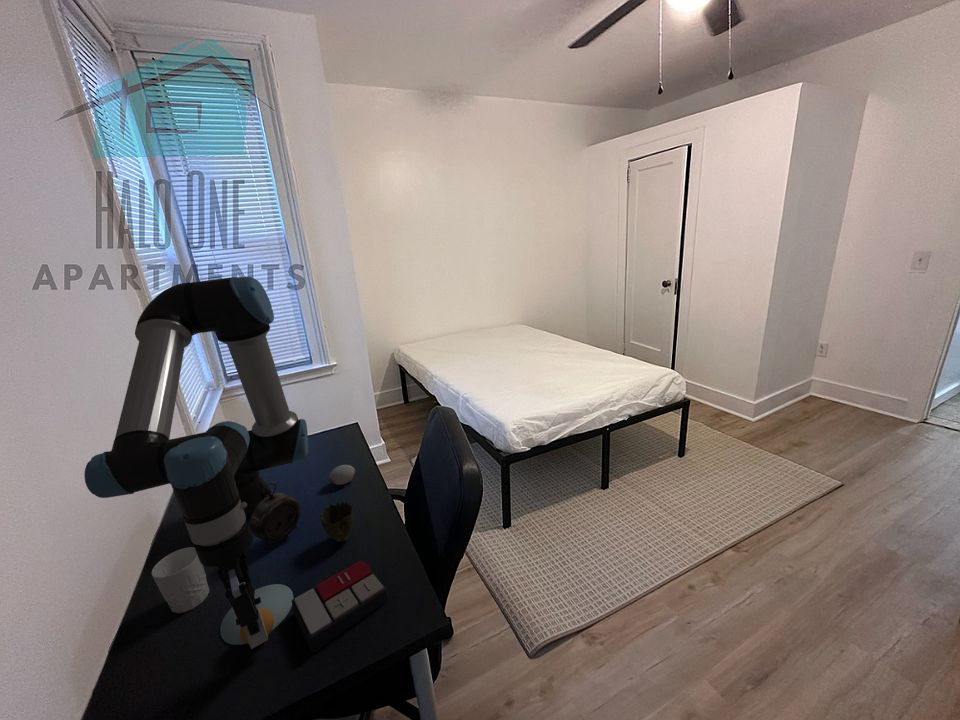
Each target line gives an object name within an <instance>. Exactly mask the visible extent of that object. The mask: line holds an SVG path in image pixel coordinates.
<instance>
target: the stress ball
mask: <svg viewBox="0 0 960 720" xmlns="http://www.w3.org/2000/svg"><path fill="white" fill-rule="evenodd" d="M355 475H356V469H355V468H354V467H353V466H352V465H350V464H342V465H339V466H336V467H334V468H333V469H332V470H331V471H330V473H329V476H328V478H329V481H330V482H331V483H332V484H334V485H338V486H341V485H344V488H347V487H348V486H347V485H346V484H348V483H349V482H351V481H352V480H353V479H354V477H355Z"/></svg>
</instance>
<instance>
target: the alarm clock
mask: <svg viewBox="0 0 960 720" xmlns="http://www.w3.org/2000/svg"><path fill="white" fill-rule="evenodd" d="M269 484H272V485H273V486H274V489H273V490H272V492H271V493H269V495H265V494H264V489H265V487H266V486H267V485H269ZM276 489H277V485H276V483H275V482H273V481H269V482H267V484H266V485H265V486H264V488H263V495H264V496H267V497H265V498H264V499H263V500H262V501H261V502H260V503H259V504H258V505H257V506H256V508H255V509H254V511H253V513H252V516H251V517H250V518H249V519H250V520H249V527H250V530H251V533H252V535H254V536H255V537H256V538H258V539H261V540H262V541H263V542H264V546H263V547H262V550H264V551H265V550H266V548H267V546H268V544H269V543H275V542H279V541H281V540H283V539H284V540H285V541H286V542H287V543H289V542H290V538H289V534H291V533H292V532H293V531H294V529H295V528H297V527H298V526H297V524H298V522H299V520H300V517H301V505H300V502H299V501H298V499H296V498H295V497H294V496H292V495H289V494H287V493H284V492H275V491H276Z"/></svg>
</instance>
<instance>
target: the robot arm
mask: <svg viewBox="0 0 960 720" xmlns="http://www.w3.org/2000/svg"><path fill="white" fill-rule="evenodd" d="M274 313H275V312H274V310H273V307H272V303H271V301H270V298H269V296H268V294H267V292H266V290H265V288H264V287H263V285H262V283H260V281H259V280H258V279H256V278H255V277H253V276H232V277H224V278H217V279H208V280H200V281H192V282H182V283H178V284H175V285H173V286H170V287H168V288H166V289H164V290H163V291H162V292H161V293H159V294H157V296H155V298H153V299H152V300H151V301H150V302H149V303H148V304H147V306H146V307H145V308H144V310H143V311H142V313H141V314H140V316H139V318H138V321H137V322H136V326H135V329H134V337H135V338H136V340H137V341H138V345H137V347H136V352H135V357H134V360H133V365H132V369H131V373H130V377H129V381H128V385H127V389H126V393H125V397H124V401H123V405H122V409H121V413H120V417H119V421H118V424H117V428H116V433H115V437H114V440H113V442H112V443H113V444H112V447H111V450H110V451H108V450H106V451H104V452H102V453H99V454H96V455H94V456H92V457H91V458H90V460H89V461H88V462H87V463H86V466H85V468H84V473H83V475H84V482H85V486H86V488H87V489H88V491H89V492H90V493H91V494H92V495H94V496H96V497H97V498H100V499H107V498H114V497H119V496H126V495H133V494H134V493H137V492H142V491H146V490H149V489H153V488H154V489H155V488H158V487H162V486H165V485H171V488H172V491H173V493H174V495H175V498H176V501H177V503H178V506H179V509H180V510H181V512H182V516H183V521H184V524H185V526H186V529H187V531H188V536H189V538H190V540H191V543H192V544H194V547H193V548H195V550H196V552H197V555H198V558H199V560H200V563H201V564H202V565H203V567H207V568H217V567H218V570H217V575H218V578H219V581H220V582H222V584H223V586H224V589H225V598H227V600H228V601H229V603H230V605H231V608H232V607H233V610H234V612H235V614H236V616H237V619H236V625H239V624H240V626H241V628H242V627H243V628H244V630H245V633H246V636H247V639H248V642H249V647H250V650H252V649H254V648H257V647H258V646H260V645H261V644H263V643H265V642H267V641H268V640H269V637H268V636H269V635H267V632H266V629H265V626H264V623H263V620H262V617H261V614H260V611H259V608H258V606H257V607H256V605H257V604H259V603H261V599H260V597H258V598H256V599H255V597H254V595H255V591H254V590H255V589H254V588H253V585H252V581H251V578H250V571H249V565H248V561H247V553H246V552H247V551H248V550H249V548H250V547H251V545H252V544H253V539H254V538H253V533H252V531H251V529H250V523H249V522H248V521H249V520H247V519H251V516H252V513H253V511H254V509H255V508H256V506H257V505H258V504H259V503H260V502H261V501H262V500H263V499H264V498H265V497H267V496H264V495H263V488H264V486H265V485H266V484H267V483H268V482H267V481H266V480H265V478H263V476H262V475H261V474H260V471H264V470H267V469H268V470H269V469H272V468H276V467H279V466H284V465H288V464H294V463H297V462H300V461H303V460H305V459H306V458H307V456H308V454H309V453H308V452H309V436H308V435H309V434H308V426H307V421H306V419H304V418H299V417H298V415H297V413H296V412H295V411H293V410H292V411H291V410H290V408H289V406H288V402H287V399H286V396H285V393H284V392H285V391H284V390H283V386H282V383H281V380H280V377H279V374H278V370H277V367H276V364H275V361H274V358H273V355H272V351H271V348H270V344H269V342H268V338H267V335H268V333H269V331H270V330H271V327H270V325H271V323H274V319H275V315H274ZM210 332H211V333H212V332H214V334H215V337H216V339H217V341H218V342H221V343H223V344H225V345H226V346H227V348H228V351H229V353H230V356H231V358H232V362H233V364H234V367H235V370H236V371H237V372H236V373H237V375H238V378H239V380H240V383H241V386H242V389H243V390H244V391H243V392H244V393H245V396H246V398H247V399H246V400H247V402H248V405H249V407H250V411H251V413H252V415H253V418H254V421H255V422H254V423H253V425H252V426H251V430H248V428H247V427H246V426H245V425H242V424H240V423H239V422H235V421H232V420H231V421H228V420H227V421H220V422H217V423H215V424H214V425H212V426H211V427H209V428H208V429H207V430H205V432H200V433H196V434H190V435H186V436H184V435H183V436H181V437H176V438H170V437H171V432H172V431H171V430H172V426H173V425H172V424H173V419H174V413H175V407H176V402H177V395H178V389H179V383H180V377H181V370H182V365H183V360H184V359H183V358H184V353H185V348H186V347H188V346H189V345H191V344H192V340H193V337H194V335H197V334H200V333H201V334H202V333H210ZM271 492H273V489H272V487H271V486H270V485H269V484H268V485H267V486H266V487H265V489H264V494H265V495H269V493H271Z"/></svg>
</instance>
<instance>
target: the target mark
mask: <svg viewBox="0 0 960 720" xmlns="http://www.w3.org/2000/svg"><path fill="white" fill-rule="evenodd" d="M253 590H254V591H255V595H254V597H255V599H256V598H258V597H260V599H261V603H259V604H257V605H256V607H257V606H258V608H265V609H268V610H269V611H270V612H271V613H272V615H273V618H274V625H273V628H272V631H273V630H275V629H276V628H277V627H278V626H280V624H282V622H283V621H284V620H285V618H286V617H287V616H288V615H289V613H290V611H291V610H292V608H293V606H292V600H293V599H294V594H293V591H292V590H291V588H290V587H288V586H287V585H285V584H280V583H278V584H277V583H275V584H269V585H265V586H262V587H259V588H257V589H253ZM236 619H237V616H236V614H235V612H234V610H233V607H232V606H231V608H230V609H228V612H227V613H226V614H225V615H224V617H223V619H222V621H221V624H220V628H219V629H220V630H219V632H220V637H221V639H222V640H223V641H224V642H225V643H227V644H230V645H233V646H239V645H246V644H247V643H246V642H244V641H243V640H242V638H241V636H240V624H239V625H236Z"/></svg>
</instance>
